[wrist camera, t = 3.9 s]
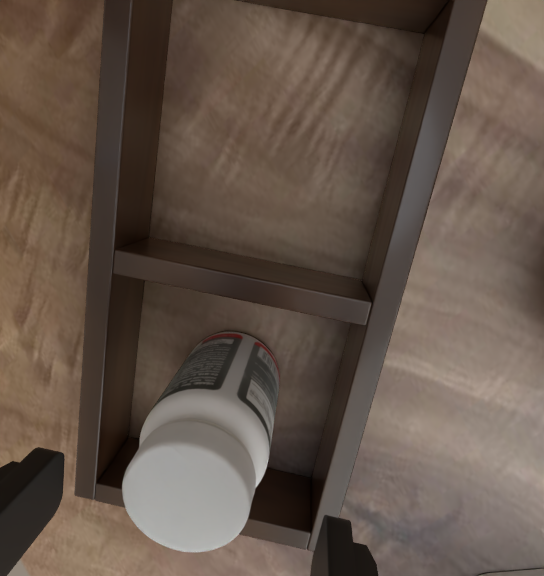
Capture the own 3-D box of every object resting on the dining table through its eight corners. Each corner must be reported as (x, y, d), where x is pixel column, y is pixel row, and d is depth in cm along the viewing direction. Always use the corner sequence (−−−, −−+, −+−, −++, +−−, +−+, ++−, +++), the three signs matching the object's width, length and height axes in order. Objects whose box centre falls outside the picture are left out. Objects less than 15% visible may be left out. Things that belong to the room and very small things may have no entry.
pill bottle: (175, 394, 21) (89, 530, 13) (205, 314, 20) (129, 409, 11) (261, 429, 21) (228, 585, 13) (295, 351, 20) (284, 471, 11)
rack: (109, 448, 22) (73, 496, 19) (152, -44, 16) (109, -104, 12) (325, 497, 22) (328, 555, 18) (458, 9, 15) (499, -39, 12)
